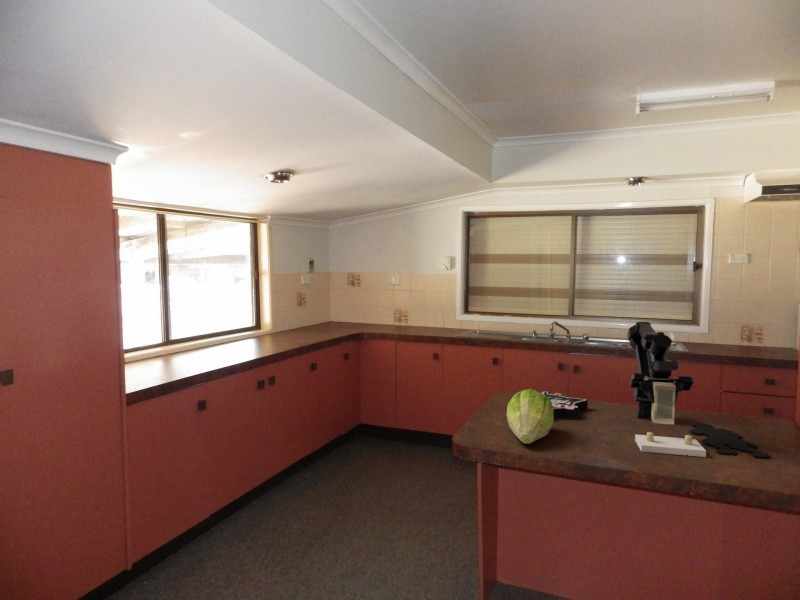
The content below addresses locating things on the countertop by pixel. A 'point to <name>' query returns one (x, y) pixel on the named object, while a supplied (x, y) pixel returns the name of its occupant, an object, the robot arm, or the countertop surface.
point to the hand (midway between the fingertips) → (664, 403)
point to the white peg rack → (670, 445)
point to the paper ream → (663, 403)
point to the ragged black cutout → (726, 441)
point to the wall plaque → (566, 405)
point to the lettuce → (530, 415)
